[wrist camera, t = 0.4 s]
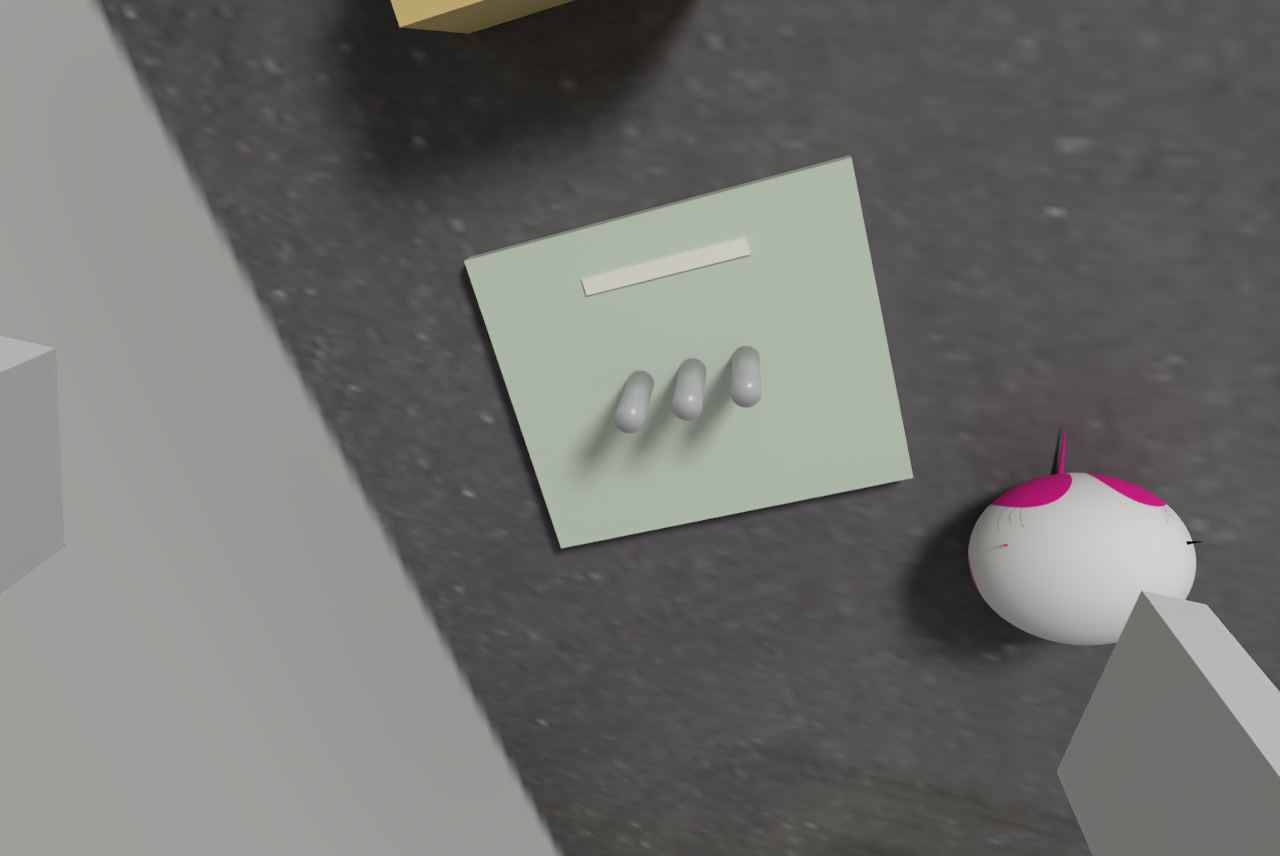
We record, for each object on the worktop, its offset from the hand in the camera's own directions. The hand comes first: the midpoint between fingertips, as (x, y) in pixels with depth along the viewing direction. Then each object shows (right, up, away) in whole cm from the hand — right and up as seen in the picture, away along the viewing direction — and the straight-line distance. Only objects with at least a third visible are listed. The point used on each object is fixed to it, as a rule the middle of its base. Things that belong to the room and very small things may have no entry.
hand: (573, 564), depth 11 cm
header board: (+3, +4, +24) cm, 25 cm away
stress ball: (+17, -1, +25) cm, 30 cm away
